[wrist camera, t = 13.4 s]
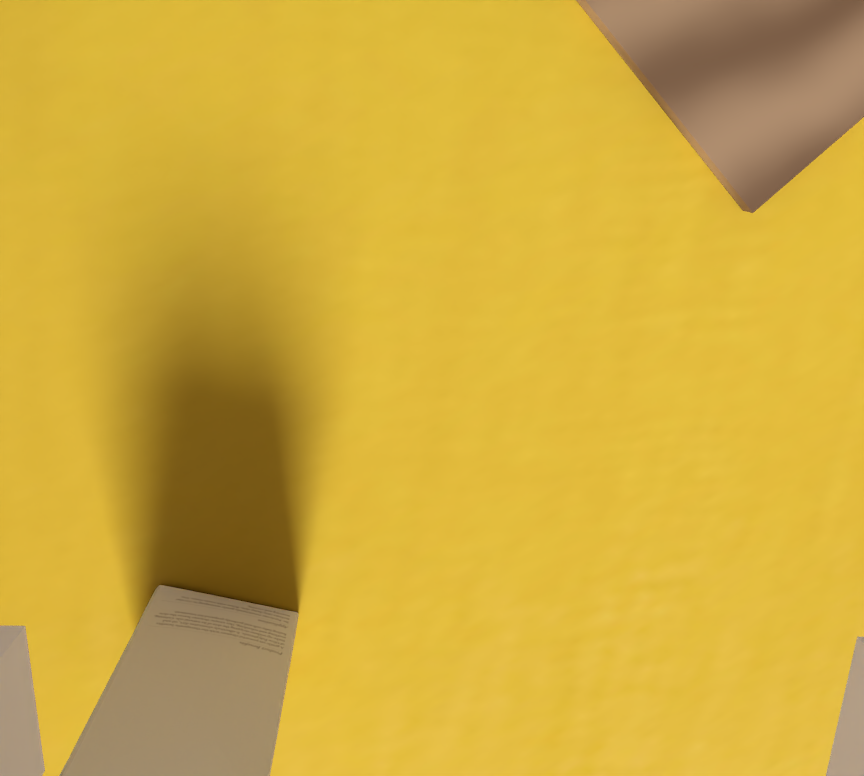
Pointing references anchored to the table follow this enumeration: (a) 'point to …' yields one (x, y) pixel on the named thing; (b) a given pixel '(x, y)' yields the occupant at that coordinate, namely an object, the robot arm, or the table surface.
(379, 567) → the table surface
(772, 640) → the table surface
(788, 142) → the board
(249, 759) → the skincare box
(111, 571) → the table surface
